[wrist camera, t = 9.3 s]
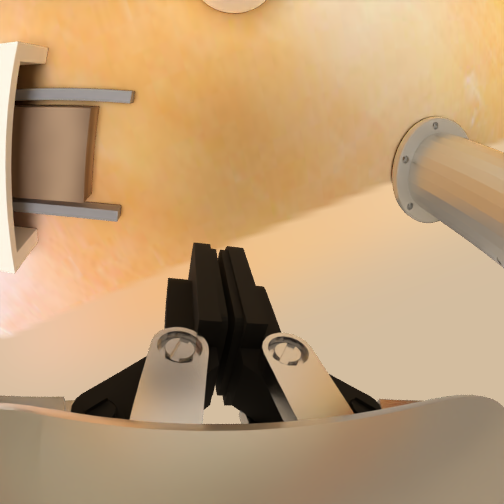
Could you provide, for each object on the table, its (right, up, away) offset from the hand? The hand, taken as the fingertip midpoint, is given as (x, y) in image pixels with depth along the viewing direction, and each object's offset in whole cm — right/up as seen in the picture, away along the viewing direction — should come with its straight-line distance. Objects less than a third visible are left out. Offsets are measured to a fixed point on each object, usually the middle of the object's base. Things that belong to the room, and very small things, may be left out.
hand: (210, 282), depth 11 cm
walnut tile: (-18, +11, +13) cm, 24 cm away
